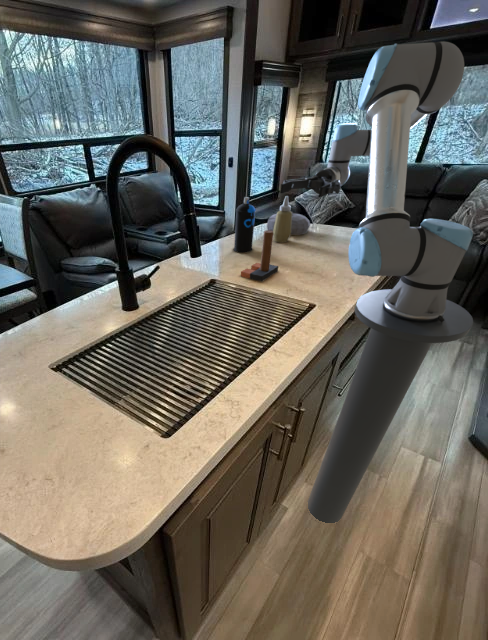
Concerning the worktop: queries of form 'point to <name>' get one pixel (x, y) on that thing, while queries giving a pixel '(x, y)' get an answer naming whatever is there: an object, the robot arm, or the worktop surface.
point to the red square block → (246, 273)
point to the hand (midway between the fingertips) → (300, 190)
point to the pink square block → (256, 266)
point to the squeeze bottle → (283, 222)
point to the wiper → (265, 259)
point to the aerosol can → (244, 227)
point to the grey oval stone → (297, 226)
